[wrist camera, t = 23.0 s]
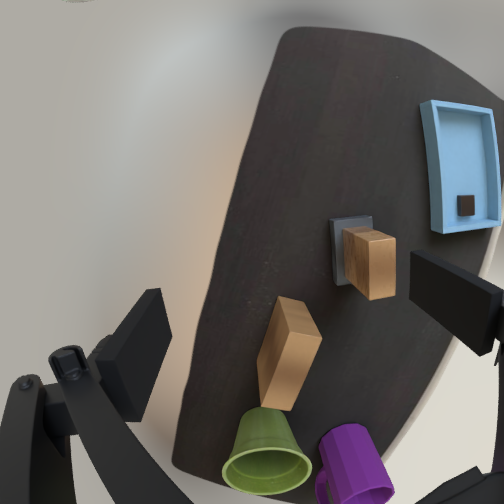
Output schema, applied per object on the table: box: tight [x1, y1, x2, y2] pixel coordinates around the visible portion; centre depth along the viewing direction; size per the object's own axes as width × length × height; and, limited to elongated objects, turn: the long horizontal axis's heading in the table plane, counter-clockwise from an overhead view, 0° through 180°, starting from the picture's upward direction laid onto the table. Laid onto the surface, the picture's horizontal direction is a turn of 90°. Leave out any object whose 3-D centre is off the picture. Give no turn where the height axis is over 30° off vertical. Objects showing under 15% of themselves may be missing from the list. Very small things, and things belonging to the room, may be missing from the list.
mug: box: [315, 423, 395, 504], centre depth 39 cm, size 9×16×15 cm, turn 158°
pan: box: [419, 100, 501, 234], centre depth 35 cm, size 18×13×3 cm
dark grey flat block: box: [457, 194, 475, 217], centre depth 37 cm, size 3×3×1 cm
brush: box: [329, 215, 396, 300], centre depth 33 cm, size 8×5×10 cm, turn 7°
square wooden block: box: [257, 296, 322, 411], centre depth 36 cm, size 10×4×10 cm, turn 164°
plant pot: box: [222, 407, 312, 495], centre depth 39 cm, size 12×12×11 cm
